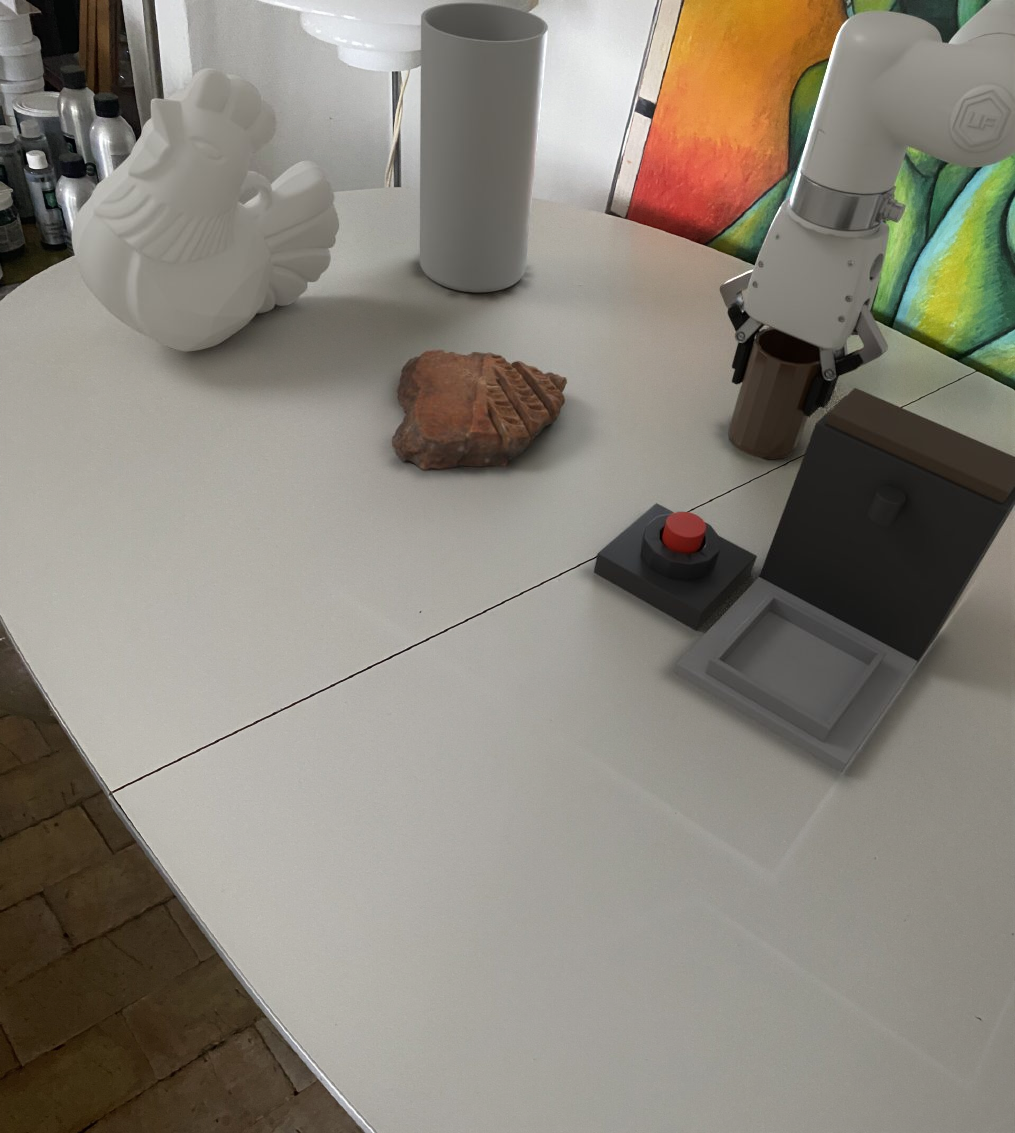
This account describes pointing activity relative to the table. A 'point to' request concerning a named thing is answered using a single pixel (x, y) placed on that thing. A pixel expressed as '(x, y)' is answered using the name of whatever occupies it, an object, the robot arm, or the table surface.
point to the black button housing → (674, 569)
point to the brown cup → (774, 395)
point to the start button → (684, 532)
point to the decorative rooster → (203, 220)
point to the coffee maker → (856, 575)
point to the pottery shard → (472, 409)
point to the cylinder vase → (478, 142)
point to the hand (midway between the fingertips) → (777, 392)
